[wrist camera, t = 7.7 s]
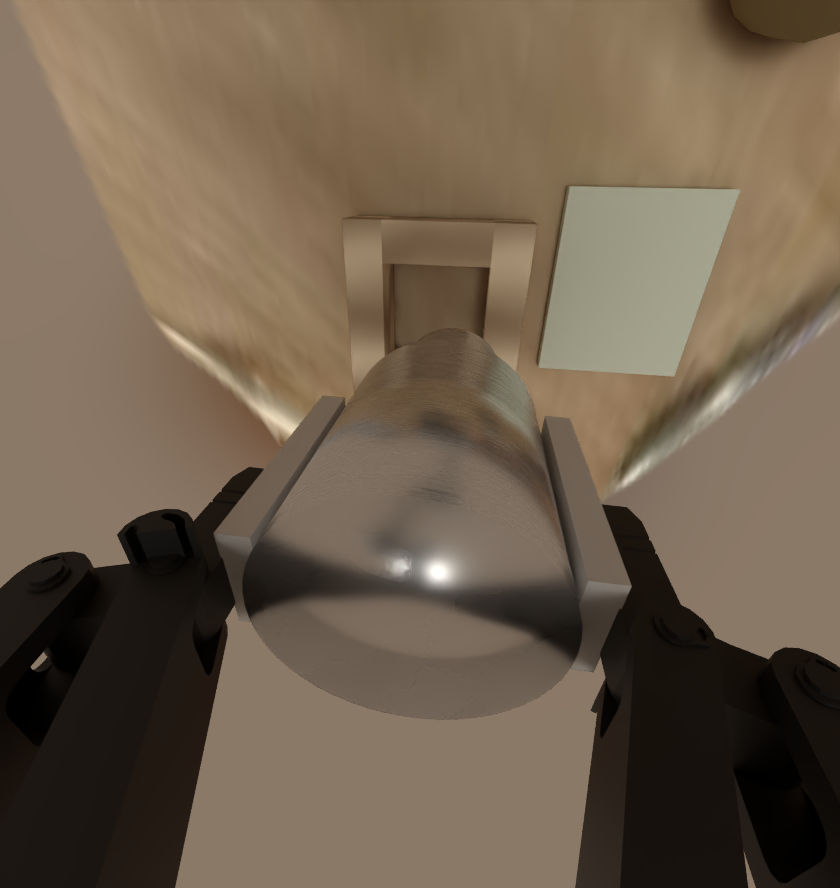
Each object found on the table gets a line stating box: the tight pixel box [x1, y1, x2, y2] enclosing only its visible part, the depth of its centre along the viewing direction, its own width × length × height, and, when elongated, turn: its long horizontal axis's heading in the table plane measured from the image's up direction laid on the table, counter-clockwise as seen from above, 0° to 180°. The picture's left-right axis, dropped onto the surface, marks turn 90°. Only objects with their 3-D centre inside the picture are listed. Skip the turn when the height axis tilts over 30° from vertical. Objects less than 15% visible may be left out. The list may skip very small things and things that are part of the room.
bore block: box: [342, 216, 537, 392], centre depth 30 cm, size 12×12×4 cm
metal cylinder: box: [242, 328, 582, 720], centre depth 14 cm, size 6×6×13 cm
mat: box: [537, 186, 740, 376], centre depth 29 cm, size 12×10×1 cm
